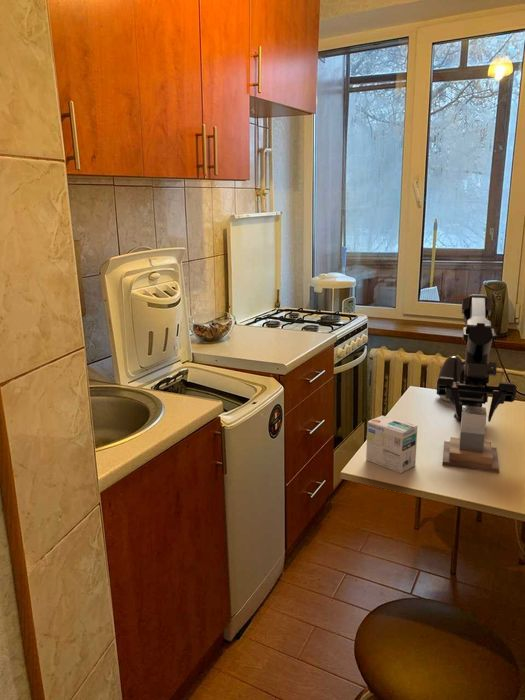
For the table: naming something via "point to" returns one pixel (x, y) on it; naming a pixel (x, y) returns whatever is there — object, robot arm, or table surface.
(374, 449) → the light bulb box
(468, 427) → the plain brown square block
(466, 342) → the robot arm
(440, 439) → the table surface
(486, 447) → the walnut stand
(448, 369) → the pump dispenser
